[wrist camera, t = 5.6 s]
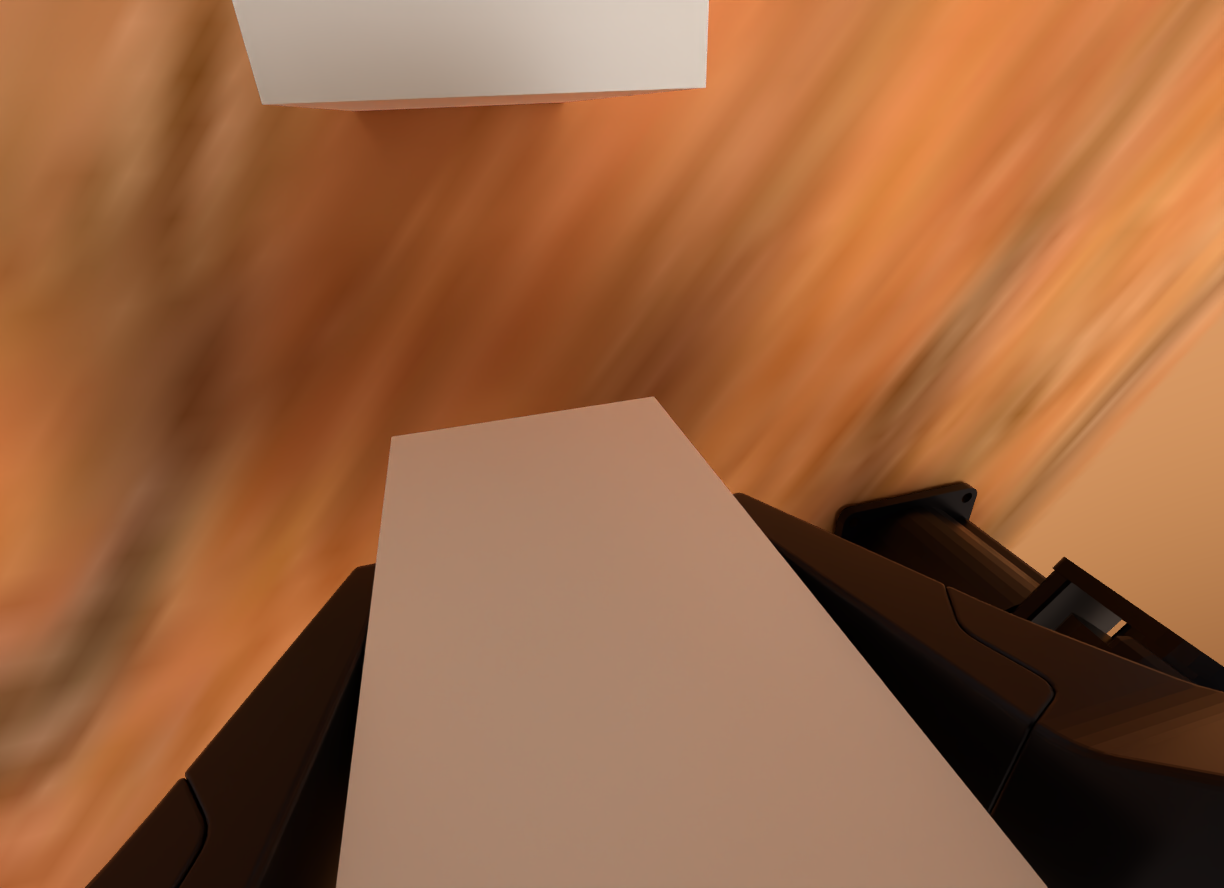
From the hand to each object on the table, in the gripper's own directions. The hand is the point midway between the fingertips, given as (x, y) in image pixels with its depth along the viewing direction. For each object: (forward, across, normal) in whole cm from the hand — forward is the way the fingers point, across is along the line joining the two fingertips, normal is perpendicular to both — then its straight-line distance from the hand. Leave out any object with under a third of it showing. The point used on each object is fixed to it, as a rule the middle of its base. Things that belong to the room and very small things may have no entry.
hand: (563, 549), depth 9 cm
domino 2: (+3, 0, 0) cm, 3 cm away
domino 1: (+10, 0, -7) cm, 12 cm away
